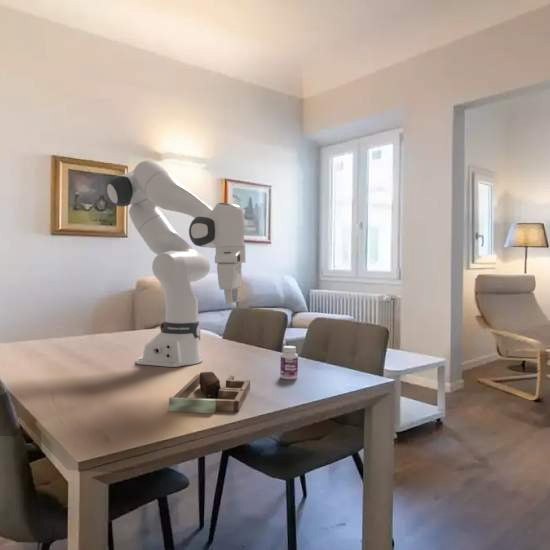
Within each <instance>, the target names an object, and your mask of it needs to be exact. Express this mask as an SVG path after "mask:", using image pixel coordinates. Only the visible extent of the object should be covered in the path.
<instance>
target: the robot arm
mask: <svg viewBox="0 0 550 550" xmlns="http://www.w3.org/2000/svg"><path fill="white" fill-rule="evenodd" d="M134 167H135V168H133V170H132V171H129V172H126V173H123V174H121V175H116V176H113V177H112V178H110V179H109V180H108V181H107V184H106V193H107V196H108V197H109V198H108V199H109V200H110V201H111V203H112V204H114V205H115V206H116V207H119V208H120V207H121V208H122V207H128V206H129V205H130V207H129V209H128V210H129V211H128V214H129V217H130V220H131V222H132V224H133V225H134V228H135V229H136V231H137V233H138V234H139V236H141V238H142V240H143V241H144V243H145V244H146V245H147V247H148V248H149V249H150V251H152V253H154V254H156V256H155V257H154V259H153V261H152V266H151V269H152V273H153V275H154V277H155V278H156V279H157V280H158V282H160V283H159V284H160V285H161V287H162V290H163V293H164V299H165V321H163V322H162V323H161V324H159V327H158V328H159V329H160V332H159V333H157V334H156V335H155V336H154V337H153V338H151V339H150V340H149V341H148V342H147V343H146V344H145V345H144V348H143V353H142V355H141V356H139V357H138V358H136V362H135V363H136V364H137V365H143V366H144V365H146V366H157V367H158V366H159V367H166V368H167V367H168V368H178V367H183V366H190V365H196V364H199V363H201V362H203V358H202V355H201V350H200V343H199V341H200V340H198V337H199V329H200V322H199V300H198V297H197V296H196V295H195V294H194V293H193V289H192V286H191V282H192V283H194V282H197V281H200V280H202V279H204V278H206V277H207V276H208V275H209V272H210V269H211V268H210V267H211V266H210V265H211V264H210V260H209V259H208V258H207V256H205V255H204V254H202V253H201V252H199V251H198V250H197V249H195V247H194V246H192V245H191V244H190V243H189V242H188V241H187V240H185V239H184V238H183V237H182V236H181V235H180V234H179V233H178V232H177V230H176V229H175V228H174V227H173V225H172V224H171V223H170V221H169V220H168V219H167V218H166V216H165V214H164V213H163V212H162V211H161V210H160V209H159V208H161V209H163V210H166V211H171V212H174V213H175V212H176V213H180V214H185V215H187V216H190V217H192V218H193V219H192V220H191V222H190V225H189V228H188V235H189V239H190V241H191V242H192V244H193V245H195V246H196V247H201V248H212V249H215V255H214V263H215V264H216V271H217V279H218V280H217V282H218V287H219V289H220V290H223V294H224V300H225V305H226V306H232V305H233V303H238V295H239V288H240V287H242V286H243V278H242V277H243V276H242V264H243V263H246V244H245V233H246V229H245V228H246V227H245V215H244V211H243V208H242V207H241V206H240V205H238V204H233V203H227V202H219V203H217V204H216V205H214V207H212V206H211V205H209V204H208V203H207V202H206V201H204V200H203V199H201V198H200V197H199V196H197V195H196V194H195V193H194V192H192V191H191V190H190V189H189V188H187V187H186V186H185V185H184V184H182V182H180V181H179V180H178V179H177V178H176V177H175V176H174V175H172V174H171V173H170V172H169V171H168V170H167V169H166V168H164V167H163V166H161V165H160V164H158V163H156V162H155V161H152V160H142V161H140V162H139V163H138V164H136V166H134Z"/></svg>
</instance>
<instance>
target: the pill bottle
mask: <svg viewBox="0 0 550 550" xmlns="http://www.w3.org/2000/svg"><path fill="white" fill-rule="evenodd" d="M282 351H283V352H282V353H281V354H280V366H279V367H280V371H279V372H280V373H279V377H280V378H281V379H284V380H296V379H297V378H298V370H299V355H298V353H297V347H296V346H295V345H294V346H293V345H284V346H282Z"/></svg>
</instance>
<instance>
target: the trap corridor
mask: <svg viewBox="0 0 550 550" xmlns="http://www.w3.org/2000/svg"><path fill="white" fill-rule="evenodd" d="M199 382H200V373H198V374H196V375H194V376H193V378H191V379H190V380H189V381H188V382H187V383H186V384H185V385H184V386H183V387H181V389H180V390H178V392H177V393H176V394H174V396H172V397H171V396H170V398H169V399H168V412H177V413H178V412H179V413H183V412H184V413H198V414H199V413H200V414H201V413H202V414H203V413H204V414H216V412H232V413H233V412H234V413H235V412H237V413H238V412H239V411H240V410H241V408H242V406H243V404H244V401H245V400H246V398H247V396H248V394H249V392H250V390H251V381H250V380H248V379H247V380H246V379H245V380H243V379H242V380H241V379H235V375H229V376H228V377H227V379H226V380H225V387H221V388H220V389H219V391H218V397H217V398H195V397H189V396H191V394H193V392H194V391H195V390H196V389H197V388H198V387H199V386H200V383H199Z"/></svg>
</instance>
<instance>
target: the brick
mask: <svg viewBox="0 0 550 550" xmlns="http://www.w3.org/2000/svg"><path fill="white" fill-rule="evenodd" d="M199 374H200V382H199V383H200V384H199V388H200V390H201V393H203V395H204V396H205V399H212V398H218V391H219V389H220V388H222V387H221V382H220V379H219V378H218V376H217V375H216V374H215V373H214V372H213V371H203V372H202V371H201V372H199Z"/></svg>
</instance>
